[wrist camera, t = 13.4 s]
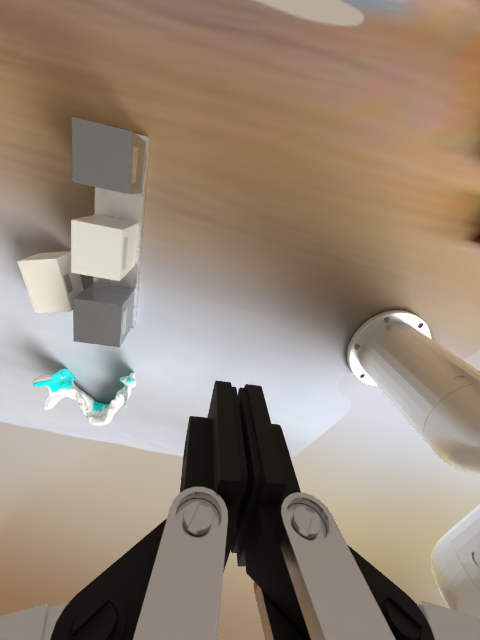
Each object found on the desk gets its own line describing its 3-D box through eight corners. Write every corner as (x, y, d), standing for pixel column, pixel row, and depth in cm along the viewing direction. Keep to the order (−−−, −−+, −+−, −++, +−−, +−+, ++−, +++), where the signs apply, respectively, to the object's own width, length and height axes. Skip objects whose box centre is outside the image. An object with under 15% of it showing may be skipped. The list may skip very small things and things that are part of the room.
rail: (150, 138, 32) (133, 124, 25) (135, 323, 40) (120, 351, 33) (101, 126, 31) (70, 108, 24) (96, 317, 39) (72, 345, 32)
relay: (74, 250, 36) (56, 258, 32) (87, 297, 38) (72, 310, 34) (39, 252, 35) (16, 261, 31) (53, 300, 38) (35, 313, 34)
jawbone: (66, 417, 44) (28, 442, 35) (68, 364, 44) (30, 376, 35) (148, 416, 46) (132, 441, 36) (150, 365, 46) (134, 376, 36)
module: (138, 223, 34) (123, 230, 28) (134, 265, 36) (119, 281, 30) (95, 214, 33) (70, 219, 27) (94, 258, 35) (70, 272, 29)
